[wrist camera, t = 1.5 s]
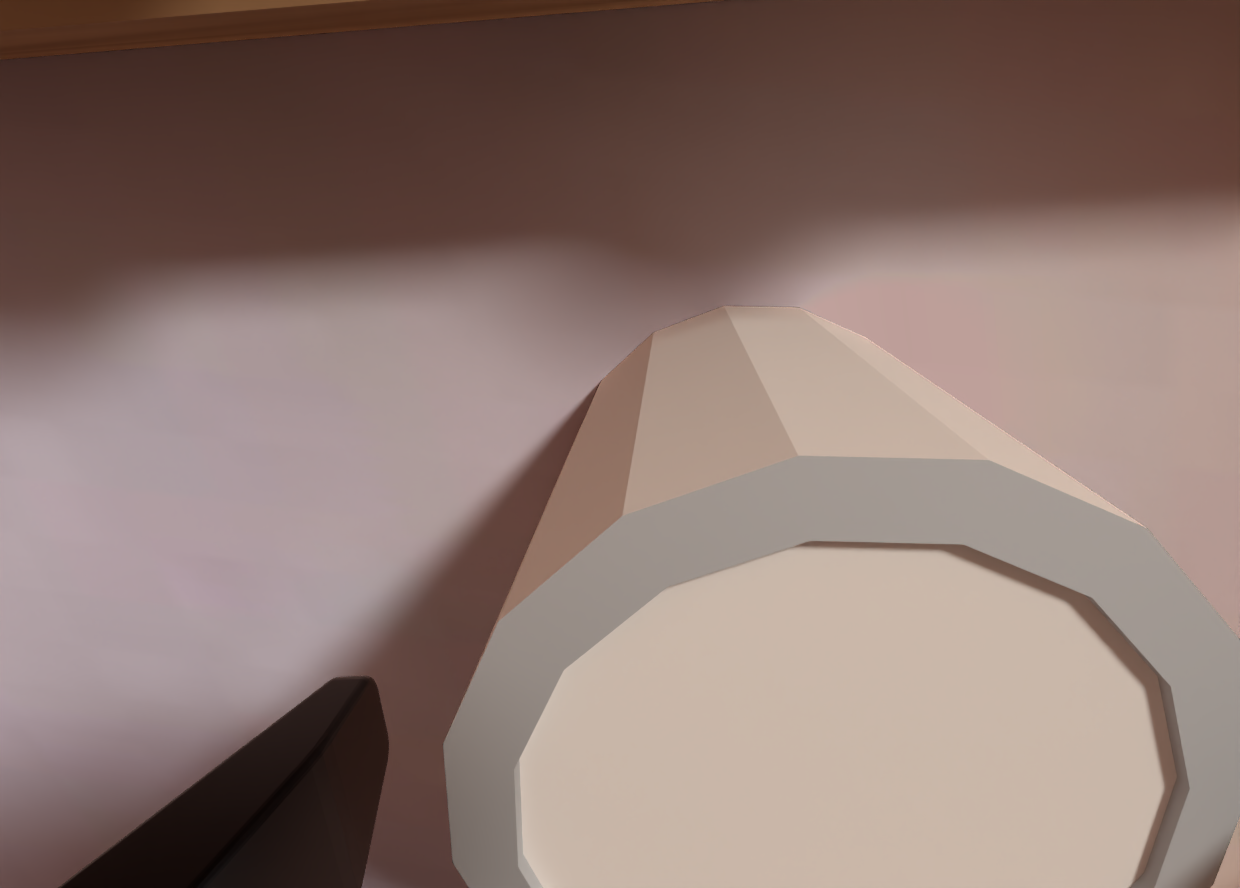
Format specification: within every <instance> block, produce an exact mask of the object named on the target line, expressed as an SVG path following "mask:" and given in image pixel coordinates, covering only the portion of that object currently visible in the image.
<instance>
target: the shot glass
mask: <svg viewBox="0 0 1240 888" xmlns="http://www.w3.org/2000/svg"><path fill="white" fill-rule="evenodd" d="M443 752H444V764H445V776H446V788H447V801H448V813H449V825H450V837H451V849H452V861H453V864H454V865H455V867H456V868H457V870H458V872H459V873H460V875H461V876H462V878H463V879H464V881H465V883H466V884H467V886H468V887H469V888H1210V887H1211V886H1212V885H1213V883H1214V881H1215V878H1216V876H1217V873H1218V871H1219V868H1220V865H1221V863H1222V860H1223V858H1224V855H1225V853H1226V850H1227V848H1228V845H1229V843H1230V840H1231V837H1232V835H1233V832H1234V830H1235V827H1236V825H1237V822H1238V820H1239V817H1240V639H1239V638H1238V637H1237V635H1236V634H1235V633H1234V632H1233V631H1232V629H1231V628H1230V627H1229V626H1228V625H1227V623H1226V622H1225V621H1224V620H1223V619H1222V617H1221V616H1220V615H1219V614H1218V613H1217V611H1216V610H1215V609H1214V608H1213V607H1212V605H1211V604H1210V603H1209V602H1208V601H1207V599H1206V598H1205V597H1204V596H1203V595H1202V593H1201V592H1200V591H1199V590H1198V589H1197V587H1196V586H1195V585H1194V584H1193V583H1192V581H1191V580H1190V579H1189V578H1188V577H1187V575H1186V574H1185V573H1184V572H1183V571H1182V569H1181V568H1180V567H1179V566H1178V565H1177V563H1176V562H1175V561H1174V560H1173V559H1172V557H1171V556H1170V555H1169V554H1168V553H1167V551H1166V550H1165V549H1164V548H1163V547H1162V545H1161V544H1160V543H1159V542H1158V541H1157V539H1156V538H1155V537H1154V536H1153V534H1152V533H1151V532H1150V531H1149V530H1148V528H1146V527H1145V526H1143V525H1142V524H1140V523H1139V522H1137V521H1136V520H1134V519H1133V518H1131V517H1130V516H1128V515H1127V514H1125V513H1124V512H1122V511H1121V510H1120V509H1118V508H1117V507H1115V506H1114V505H1112V504H1111V503H1109V502H1108V501H1106V500H1105V499H1103V498H1102V497H1100V496H1099V495H1097V494H1096V493H1094V492H1093V491H1092V490H1090V489H1089V488H1087V487H1086V486H1084V485H1083V484H1081V483H1080V482H1078V481H1077V480H1075V479H1074V478H1072V477H1071V476H1069V475H1068V474H1066V473H1065V472H1063V471H1062V470H1061V469H1059V468H1058V467H1056V466H1055V465H1053V464H1052V463H1050V462H1049V461H1047V460H1046V459H1044V458H1043V457H1041V456H1040V455H1038V454H1037V453H1035V452H1034V451H1033V450H1031V449H1030V448H1028V447H1027V446H1025V445H1024V444H1022V443H1021V442H1019V441H1018V440H1016V439H1015V438H1013V437H1012V436H1010V435H1009V434H1007V433H1006V432H1004V431H1003V430H1002V429H1000V428H999V427H997V426H996V425H994V424H993V423H991V422H990V421H988V420H987V419H985V418H984V417H982V416H981V415H979V414H978V413H976V412H975V411H974V410H972V409H971V408H969V407H968V406H966V405H965V404H963V403H962V402H960V401H959V400H957V399H956V398H954V397H953V396H951V395H950V394H948V393H947V392H945V391H944V390H943V389H941V388H940V387H938V386H937V385H935V384H934V383H932V382H931V381H929V380H928V379H926V378H925V377H923V376H922V375H920V374H919V373H917V372H916V371H915V370H913V369H912V368H910V367H909V366H907V365H906V364H904V363H903V362H901V361H900V360H898V359H897V358H895V357H894V356H892V355H891V354H889V353H888V352H886V351H885V350H884V349H882V348H881V347H879V346H878V345H876V344H875V343H873V342H872V341H870V340H869V339H867V338H866V337H864V336H862V335H860V334H857V333H855V332H853V331H851V330H848V329H846V328H844V327H842V326H839V325H837V324H835V323H833V322H830V321H828V320H826V319H824V318H821V317H819V316H817V315H815V314H812V313H810V312H808V311H806V310H803V309H801V308H799V307H753V306H722V307H720V308H717V309H714V310H712V311H709V312H706V313H704V314H701V315H698V316H696V317H693V318H690V319H688V320H685V321H682V322H680V323H677V324H674V325H672V326H669V327H666V328H664V329H661V330H658V331H656V332H654V333H652V334H651V335H650V336H649V337H648V338H647V339H646V340H645V341H644V342H643V343H642V344H640V345H639V346H638V347H637V348H636V349H635V350H634V351H633V352H632V353H631V354H630V355H629V356H627V357H626V358H625V359H624V360H623V361H622V362H621V363H620V364H619V365H618V366H617V367H616V368H614V369H613V370H612V371H611V372H610V373H609V374H608V375H607V376H606V377H605V378H604V379H603V380H601V382H600V385H599V387H598V389H597V391H596V394H595V396H594V398H593V400H592V402H591V405H590V407H589V409H588V411H587V414H586V416H585V418H584V420H583V423H582V425H581V427H580V429H579V432H578V434H577V436H576V438H575V440H574V443H573V445H572V447H571V450H570V452H569V454H568V457H567V459H566V461H565V464H564V466H563V468H562V470H561V473H560V475H559V477H558V480H557V482H556V484H555V487H554V489H553V491H552V494H551V496H550V498H549V501H548V503H547V505H546V507H545V510H544V512H543V514H542V517H541V519H540V521H539V524H538V526H537V528H536V531H535V533H534V535H533V537H532V540H531V542H530V544H529V547H528V549H527V551H526V554H525V556H524V558H523V561H522V563H521V565H520V568H519V570H518V572H517V574H516V577H515V579H514V581H513V584H512V586H511V588H510V591H509V593H508V595H507V598H506V600H505V602H504V605H503V607H502V609H501V611H500V614H499V616H498V618H497V621H496V623H495V625H494V628H493V630H492V632H491V635H490V637H489V639H488V642H487V644H486V646H485V648H484V651H483V653H482V655H481V658H480V660H479V662H478V665H477V667H476V669H475V672H474V674H473V676H472V678H471V681H470V683H469V685H468V688H467V690H466V692H465V695H464V697H463V699H462V702H461V704H460V706H459V709H458V711H457V713H456V715H455V718H454V720H453V722H452V725H451V727H450V729H449V732H448V734H447V736H446V739H445V741H444V743H443Z"/></svg>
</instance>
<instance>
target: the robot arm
mask: <svg viewBox="0 0 1240 888" xmlns="http://www.w3.org/2000/svg"><path fill="white" fill-rule="evenodd" d="M388 753H389V740H388V733H387V728H386V724H385V719H384V715H383V710H382V706H381V701H380V697H379V692H378V688H377V685H376V683H375V681H374V679H372V678H371V677H369V676H348V677H336V678H333V679H332V680H330V681H329V682H327V683H326V684H325V685H323V686H322V687H321V688H319V689H318V690H317V691H315V692H314V693H313V694H311V695H310V696H309V697H308V698H306V699H305V700H304V701H302V702H301V703H300V704H298V705H297V706H296V707H294V708H293V709H292V710H291V711H289V712H288V713H287V714H285V715H284V716H283V717H281V718H280V719H279V720H277V721H276V722H275V723H273V724H272V725H271V726H270V727H268V728H267V729H266V730H264V731H263V732H262V733H260V734H259V735H258V736H256V737H255V738H254V739H252V740H251V741H250V742H249V743H247V744H246V745H245V746H243V747H242V748H241V749H239V750H238V751H237V752H235V753H234V754H233V755H232V756H230V757H229V758H228V759H226V760H225V761H224V762H222V763H221V764H220V765H218V766H217V767H216V768H214V769H213V770H212V771H211V772H209V773H208V774H207V775H205V776H204V777H203V778H201V779H200V780H199V781H197V782H196V783H195V784H193V785H192V786H191V787H190V788H188V789H187V790H186V791H184V792H183V793H182V794H180V795H179V796H178V797H176V798H175V799H174V800H173V801H171V802H170V803H169V804H167V805H166V806H165V807H163V808H162V809H161V810H159V811H158V812H157V813H155V814H154V815H153V816H152V817H150V818H149V819H148V820H146V821H145V822H144V823H142V824H141V825H140V826H138V827H137V828H136V829H135V830H133V831H132V832H131V833H129V834H128V835H127V836H125V837H124V838H123V839H121V840H120V841H119V842H117V843H116V844H115V845H113V846H112V847H111V848H110V849H108V850H107V851H106V852H104V853H103V854H102V855H100V856H99V857H98V858H96V859H95V860H94V861H92V862H91V863H90V864H89V865H87V866H86V867H85V868H83V869H82V870H81V871H79V872H78V873H77V874H75V875H74V876H73V877H71V878H70V879H69V880H68V881H66V882H65V883H64V884H62V885H61V886H60V887H58V888H361V886H362V882H363V878H364V873H365V869H366V864H367V859H368V854H369V849H370V844H371V839H372V834H373V829H374V825H375V820H376V815H377V810H378V805H379V800H380V795H381V790H382V785H383V780H384V776H385V771H386V766H387V761H388Z"/></svg>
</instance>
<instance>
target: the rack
mask: <svg viewBox="0 0 1240 888" xmlns="http://www.w3.org/2000/svg"><path fill="white" fill-rule="evenodd" d="M710 1H722V0H0V60H3V59H15V58H27V57H39V56H52V55H64V54H76V53H88V52H100V51H113V50H125V49H137V48H149V47H161V46H173V45H186V44H198V43H210V42H222V41H234V40H247V39H259V38H271V37H283V36H295V35H307V34H320V33H332V32H344V31H356V30H368V29H381V28H393V27H405V26H417V25H429V24H442V23H454V22H466V21H478V20H490V19H502V18H515V17H527V16H539V15H551V14H563V13H576V12H588V11H600V10H612V9H624V8H636V7H649V6H661V5H673V4H685V3H697V2H710Z"/></svg>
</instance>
